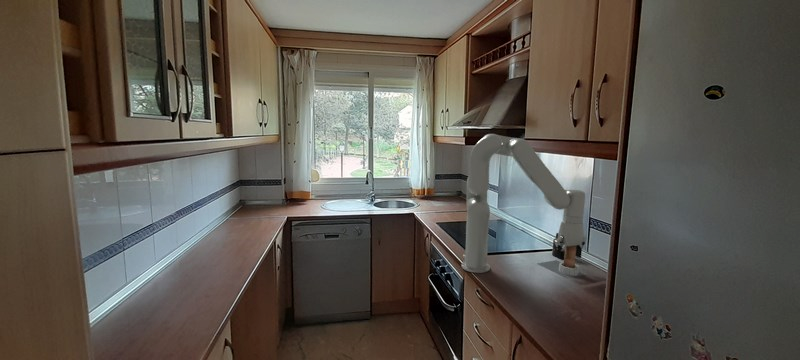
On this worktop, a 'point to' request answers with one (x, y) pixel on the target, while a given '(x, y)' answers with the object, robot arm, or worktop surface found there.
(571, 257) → the rail post
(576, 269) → the bracket board
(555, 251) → the supplement bottle
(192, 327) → the worktop surface
